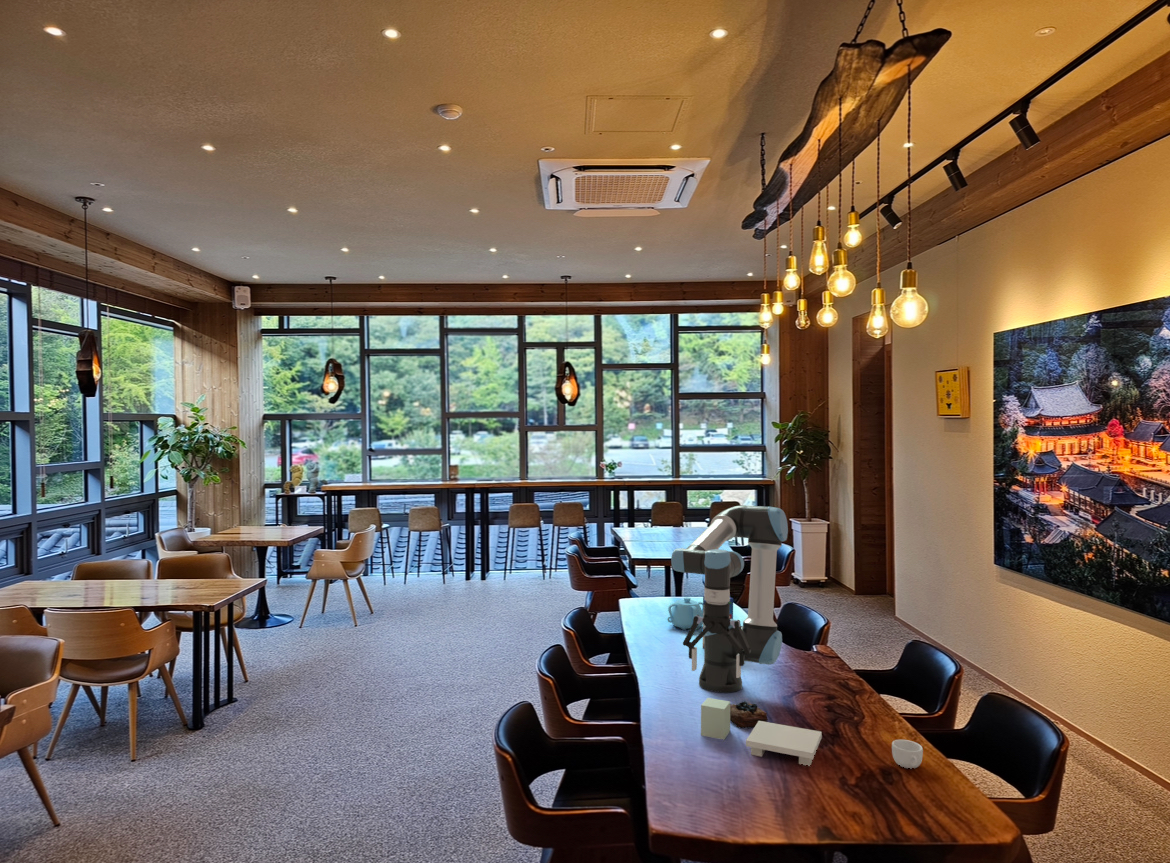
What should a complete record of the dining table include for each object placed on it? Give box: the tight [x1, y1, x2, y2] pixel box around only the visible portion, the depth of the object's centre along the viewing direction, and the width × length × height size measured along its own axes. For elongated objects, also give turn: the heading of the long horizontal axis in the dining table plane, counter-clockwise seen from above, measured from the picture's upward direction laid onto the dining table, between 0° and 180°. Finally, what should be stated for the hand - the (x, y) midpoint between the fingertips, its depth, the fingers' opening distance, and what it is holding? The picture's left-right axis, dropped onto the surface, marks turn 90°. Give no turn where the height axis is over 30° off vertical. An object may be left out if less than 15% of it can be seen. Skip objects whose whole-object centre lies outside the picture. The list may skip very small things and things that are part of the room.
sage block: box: [700, 697, 731, 740], centre depth 221 cm, size 7×7×9 cm
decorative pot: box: [666, 597, 703, 631], centre depth 344 cm, size 16×16×14 cm
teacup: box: [891, 739, 924, 770], centre depth 200 cm, size 10×8×5 cm
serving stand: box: [745, 721, 823, 767], centre depth 208 cm, size 16×18×4 cm
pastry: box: [730, 700, 768, 729], centre depth 231 cm, size 11×12×6 cm
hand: (716, 673), depth 221 cm, fingers open, 13 cm apart
